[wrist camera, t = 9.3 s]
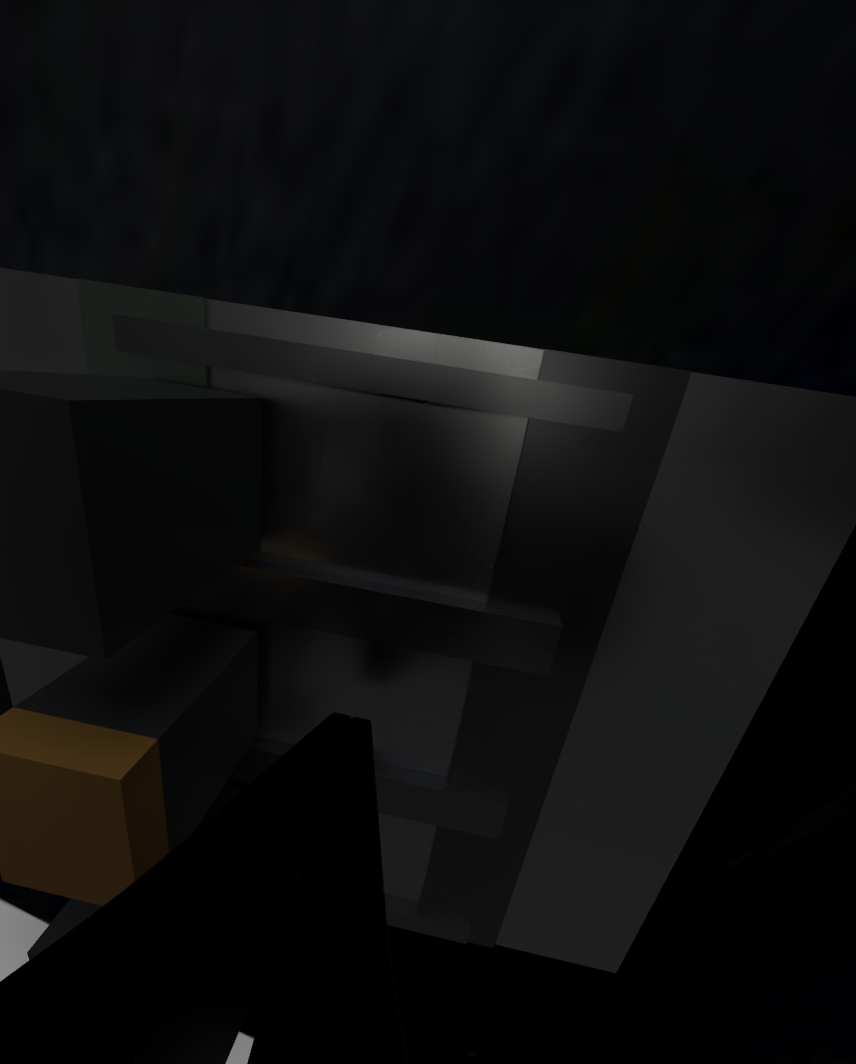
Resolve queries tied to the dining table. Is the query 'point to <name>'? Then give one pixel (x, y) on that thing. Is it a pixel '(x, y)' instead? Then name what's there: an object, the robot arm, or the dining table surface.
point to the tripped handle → (123, 757)
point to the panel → (492, 585)
